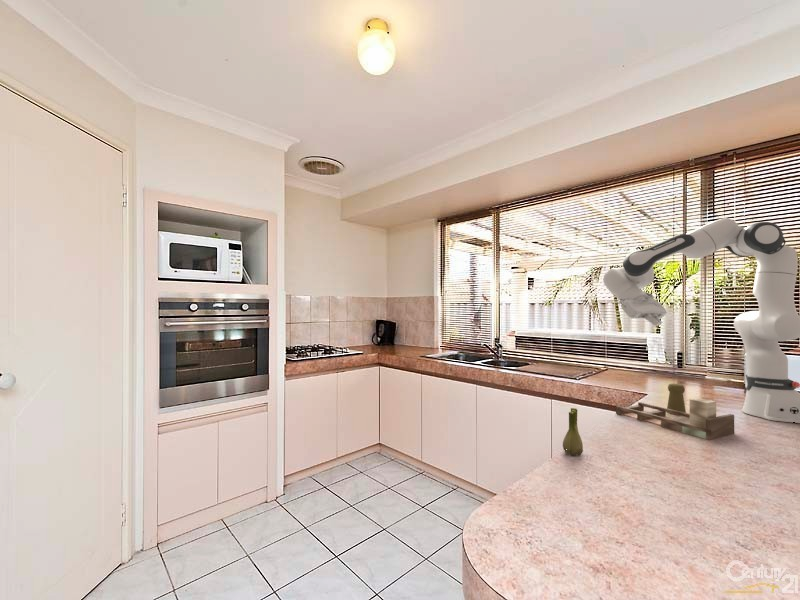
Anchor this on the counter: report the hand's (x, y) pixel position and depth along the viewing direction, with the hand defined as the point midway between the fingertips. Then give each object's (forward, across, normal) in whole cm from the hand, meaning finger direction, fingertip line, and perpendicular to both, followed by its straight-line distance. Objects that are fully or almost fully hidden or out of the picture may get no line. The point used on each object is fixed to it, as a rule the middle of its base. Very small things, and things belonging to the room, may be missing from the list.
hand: (658, 324), depth 147 cm
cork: (+27, +3, +20) cm, 34 cm away
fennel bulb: (+36, -67, +11) cm, 77 cm away
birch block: (+37, -13, +7) cm, 40 cm away
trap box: (+32, -13, +16) cm, 37 cm away
